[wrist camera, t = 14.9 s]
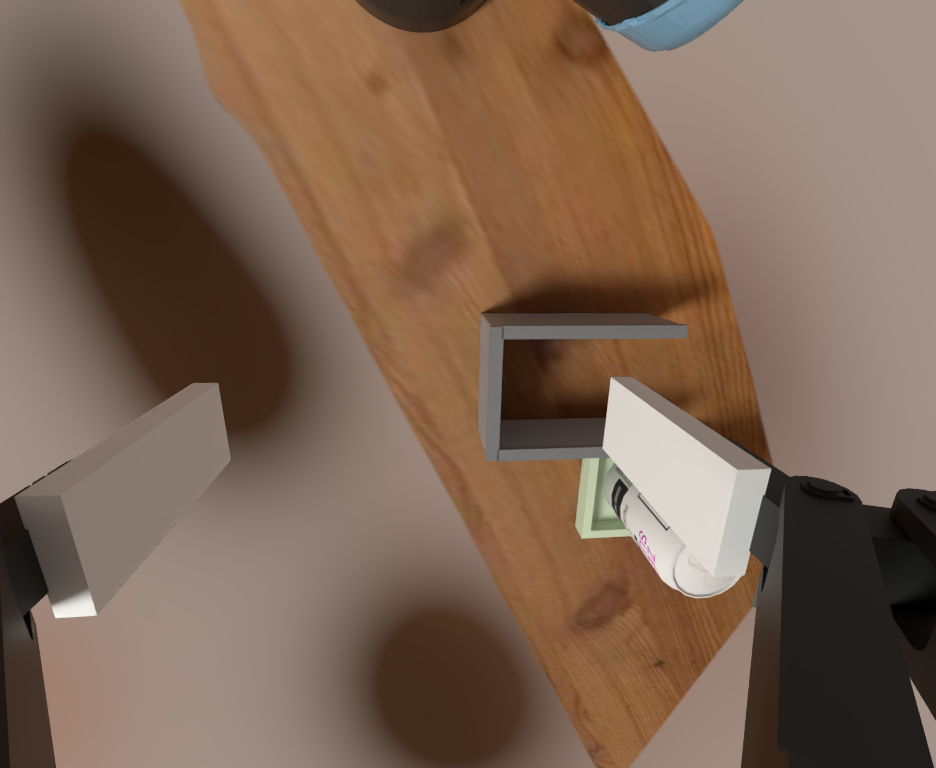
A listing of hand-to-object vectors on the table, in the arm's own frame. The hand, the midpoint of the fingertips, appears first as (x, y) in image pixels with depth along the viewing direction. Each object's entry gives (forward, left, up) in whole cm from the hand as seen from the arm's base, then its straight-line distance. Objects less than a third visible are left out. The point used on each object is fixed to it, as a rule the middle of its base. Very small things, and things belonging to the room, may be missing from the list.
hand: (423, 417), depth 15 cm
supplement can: (+22, +25, -31) cm, 46 cm away
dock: (+8, +15, -32) cm, 36 cm away
